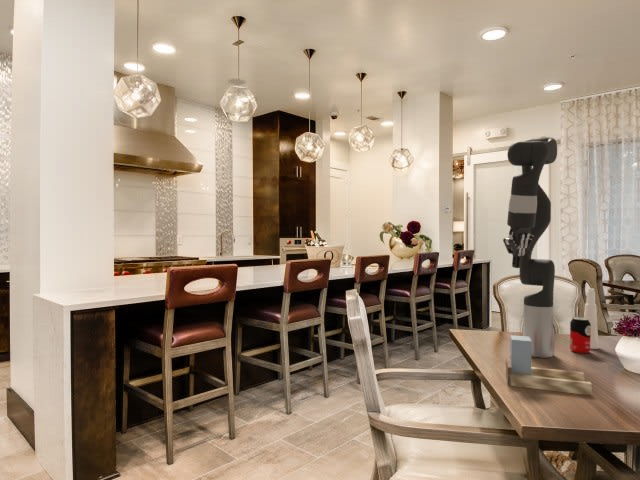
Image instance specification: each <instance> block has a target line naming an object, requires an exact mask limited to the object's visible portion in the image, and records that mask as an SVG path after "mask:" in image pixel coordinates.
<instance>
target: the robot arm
mask: <svg viewBox="0 0 640 480" xmlns="http://www.w3.org/2000/svg"><path fill="white" fill-rule="evenodd" d="M557 156H558V144H557V140H556V139H555V138H553V137H550V136H549V137H548V136H547V137H536V138H529V139H524V140H522V141H520V140H518V141H515V142H513V143H511V145H510V146H509V147H508V150H507V160H508V162H509V163H510V164H511V165H512V166H517V167H521V173H520V174H515V175H514V176H513V177H512V180H511V188H510V190H511V191H510V197H509V202H508V212H507V220H506V222H507V226H509V228H510V229H509V232H508V235H507V237H503V240H502V241H503V245H504V246H505V249H506V250H507V253H508V254H511V255H512V263H511V267H512V268H515V269H519V280H520V283H521V284H522V285H525V286H537V287H539V286H540V287H542V289H541V290H540V291H538V292H535V293H532V294H528V295H525V296H524V297H523V325H522V326H523V330H522V331H523V334H522V336H526V337H530V339H531V341H532V349H531V353H532V356H531V357H534V358H542V359H544V358H552V357H553V356H554V355H555V334H556V333H555V327H554V290H555V289H554V287H555V278H556V277H555V276H556V275H555V273H556V269H555V268H556V267H555V263H554V261H553V260H551V259H540V258H532V254H533V251H534V248H535V246H536V244H537V243H538V241H539V239H540V238H541V236H543V234H544V233H545V231H546V230H547V228H548V227H549V226H550V224H551V221H552V220H551V219H552V218H551V217H552V210H551V209H552V202H551V200H550V198H549V196H548V195H547V193H546V192H545V190H544V189H543V188H542V187H541V185H540V177H541V173H542V170H543V169H544V166H545V165H550V164H553V163H555V161H556V160H557V158H558V157H557Z"/></svg>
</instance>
